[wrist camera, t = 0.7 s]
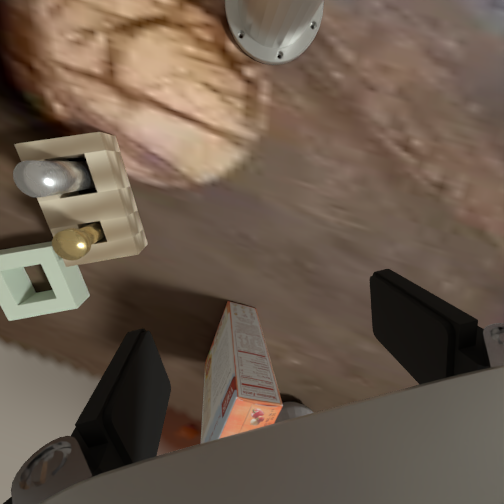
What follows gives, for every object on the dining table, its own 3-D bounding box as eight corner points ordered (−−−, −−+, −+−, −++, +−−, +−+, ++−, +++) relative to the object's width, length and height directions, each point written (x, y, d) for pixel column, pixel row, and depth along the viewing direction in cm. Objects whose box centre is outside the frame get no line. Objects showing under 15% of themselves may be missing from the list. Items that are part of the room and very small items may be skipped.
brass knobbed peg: (81, 219, 36) (46, 233, 29) (107, 215, 36) (79, 228, 29) (90, 243, 37) (59, 263, 30) (115, 239, 37) (90, 257, 30)
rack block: (-2, 250, 39) (-25, 259, 35) (66, 238, 40) (50, 246, 36) (27, 307, 42) (8, 320, 38) (90, 295, 43) (77, 308, 39)
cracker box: (233, 366, 51) (242, 493, 31) (204, 360, 50) (194, 489, 30) (258, 307, 47) (286, 408, 28) (227, 298, 46) (233, 399, 26)
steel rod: (72, 163, 36) (6, 163, 25) (98, 159, 37) (44, 157, 25) (82, 189, 38) (22, 200, 26) (107, 185, 38) (59, 194, 26)
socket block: (41, 146, 35) (13, 144, 31) (115, 136, 36) (99, 131, 31) (83, 255, 41) (66, 266, 36) (147, 244, 41) (138, 254, 36)
